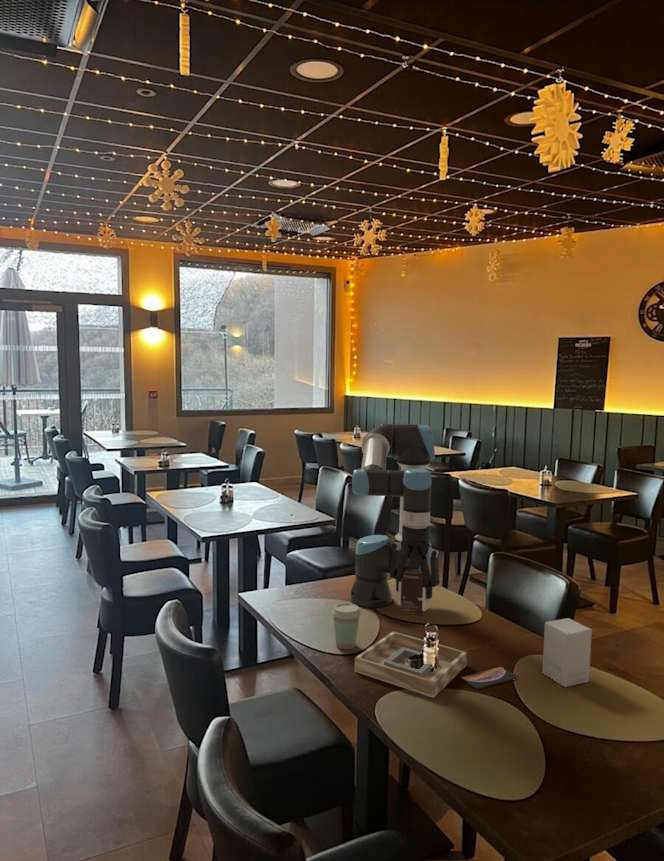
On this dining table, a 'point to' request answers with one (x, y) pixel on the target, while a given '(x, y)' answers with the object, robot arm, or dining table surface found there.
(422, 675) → the slate socket
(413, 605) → the box
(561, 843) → the dining table surface
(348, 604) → the coffee cup
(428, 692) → the birch tray
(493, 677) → the smartphone
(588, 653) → the supplement box
